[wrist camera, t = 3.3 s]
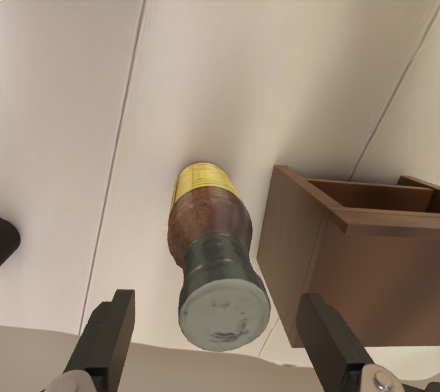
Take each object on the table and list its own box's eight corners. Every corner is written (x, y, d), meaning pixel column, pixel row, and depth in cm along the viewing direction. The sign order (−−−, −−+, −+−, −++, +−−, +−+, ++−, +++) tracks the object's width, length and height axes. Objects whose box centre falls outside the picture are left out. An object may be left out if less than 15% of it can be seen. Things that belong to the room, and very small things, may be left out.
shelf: (256, 259, 34) (301, 371, 20) (273, 164, 29) (348, 223, 15) (377, 263, 36) (494, 366, 22) (411, 176, 32) (584, 236, 18)
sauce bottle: (209, 218, 31) (234, 395, 12) (164, 192, 29) (116, 353, 11) (241, 175, 29) (323, 304, 11) (195, 145, 28) (201, 237, 9)
